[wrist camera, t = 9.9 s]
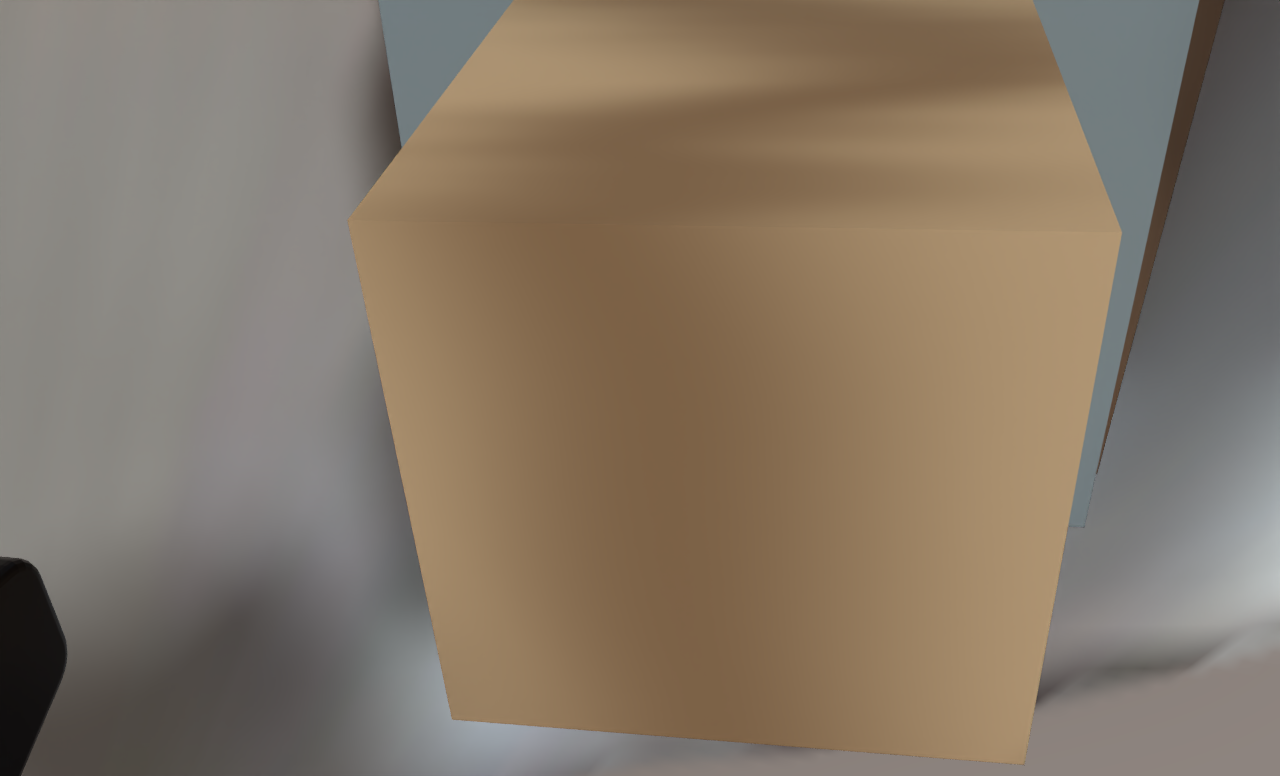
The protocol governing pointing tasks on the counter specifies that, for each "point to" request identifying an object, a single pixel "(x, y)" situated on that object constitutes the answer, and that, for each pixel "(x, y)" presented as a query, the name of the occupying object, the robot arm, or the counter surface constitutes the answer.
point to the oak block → (745, 367)
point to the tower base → (1171, 164)
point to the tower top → (1089, 64)
